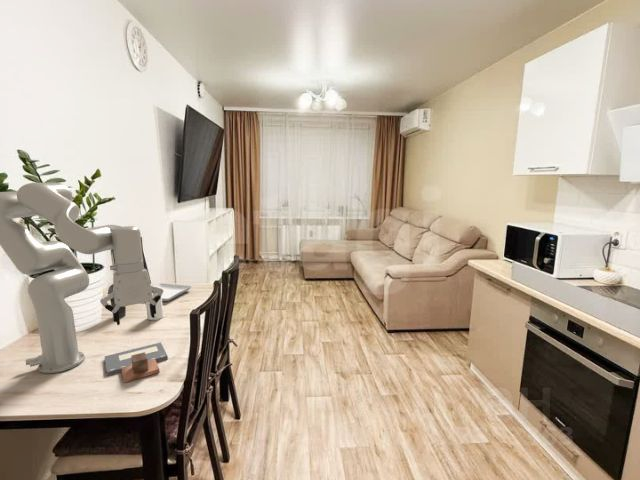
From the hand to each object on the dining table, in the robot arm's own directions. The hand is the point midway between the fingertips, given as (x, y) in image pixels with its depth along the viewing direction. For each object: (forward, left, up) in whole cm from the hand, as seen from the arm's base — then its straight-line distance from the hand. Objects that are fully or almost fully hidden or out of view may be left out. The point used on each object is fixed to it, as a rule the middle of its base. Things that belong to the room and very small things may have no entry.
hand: (135, 319), depth 108 cm
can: (+12, +45, -18) cm, 50 cm away
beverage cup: (-1, +56, -18) cm, 59 cm away
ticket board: (0, +10, -18) cm, 21 cm away
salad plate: (+21, +75, -19) cm, 80 cm away
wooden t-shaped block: (0, 0, -18) cm, 18 cm away
